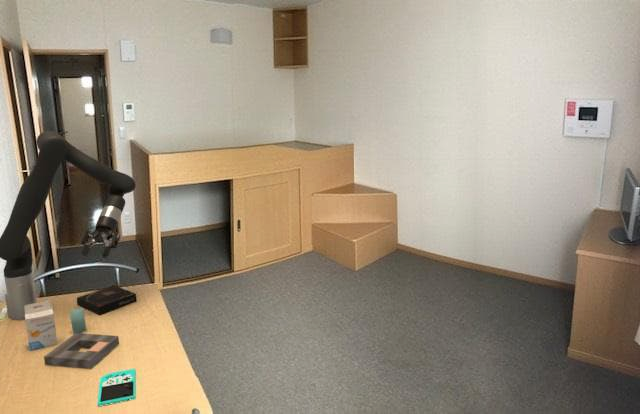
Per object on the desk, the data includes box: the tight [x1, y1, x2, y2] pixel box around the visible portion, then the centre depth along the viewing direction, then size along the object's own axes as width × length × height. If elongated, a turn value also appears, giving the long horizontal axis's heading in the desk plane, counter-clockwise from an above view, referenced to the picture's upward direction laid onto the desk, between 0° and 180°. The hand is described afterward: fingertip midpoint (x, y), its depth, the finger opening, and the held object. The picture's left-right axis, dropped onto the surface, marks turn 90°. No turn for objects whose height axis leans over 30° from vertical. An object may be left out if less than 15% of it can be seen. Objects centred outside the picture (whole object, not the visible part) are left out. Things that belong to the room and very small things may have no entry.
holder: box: [43, 332, 120, 370], centre depth 159 cm, size 16×16×3 cm
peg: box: [69, 307, 87, 334], centre depth 175 cm, size 4×4×8 cm
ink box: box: [24, 300, 58, 351], centre depth 164 cm, size 8×5×15 cm, turn 123°
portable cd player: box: [76, 285, 137, 316], centre depth 199 cm, size 16×17×4 cm
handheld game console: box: [97, 368, 136, 407], centre depth 141 cm, size 10×16×1 cm, turn 21°
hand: (93, 256), depth 183 cm, fingers open, 8 cm apart
